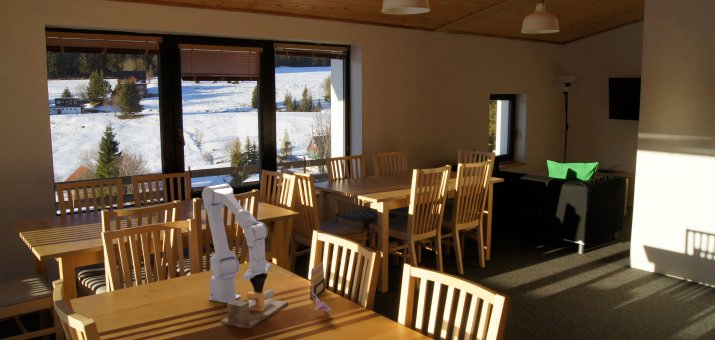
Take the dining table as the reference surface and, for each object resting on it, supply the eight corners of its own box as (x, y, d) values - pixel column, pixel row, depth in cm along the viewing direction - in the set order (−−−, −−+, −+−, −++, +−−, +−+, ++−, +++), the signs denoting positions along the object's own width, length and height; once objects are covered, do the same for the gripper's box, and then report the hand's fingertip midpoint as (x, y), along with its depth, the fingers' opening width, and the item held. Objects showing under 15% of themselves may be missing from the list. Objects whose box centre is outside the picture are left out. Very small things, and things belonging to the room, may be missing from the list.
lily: (330, 328, 202) (341, 301, 204) (298, 315, 202) (309, 288, 204) (328, 325, 214) (338, 300, 216) (298, 313, 213) (308, 288, 215)
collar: (247, 309, 214) (246, 293, 213) (250, 307, 215) (250, 291, 214) (261, 311, 211) (260, 295, 210) (264, 309, 213) (264, 293, 212)
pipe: (238, 312, 206) (238, 305, 206) (268, 295, 222) (267, 288, 222) (245, 313, 205) (244, 306, 205) (273, 296, 221) (273, 289, 221)
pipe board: (221, 323, 205) (220, 302, 204) (260, 300, 226) (260, 281, 225) (249, 328, 200) (249, 307, 199) (287, 304, 221) (287, 285, 220)
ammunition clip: (314, 299, 226) (313, 269, 225) (310, 298, 227) (309, 268, 225) (325, 290, 236) (324, 261, 235) (321, 289, 237) (320, 260, 235)
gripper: (254, 264, 204) (256, 302, 206) (277, 253, 217) (278, 289, 219) (237, 261, 207) (239, 299, 209) (261, 251, 220) (262, 286, 222)
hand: (258, 293), depth 214 cm, fingers closed
